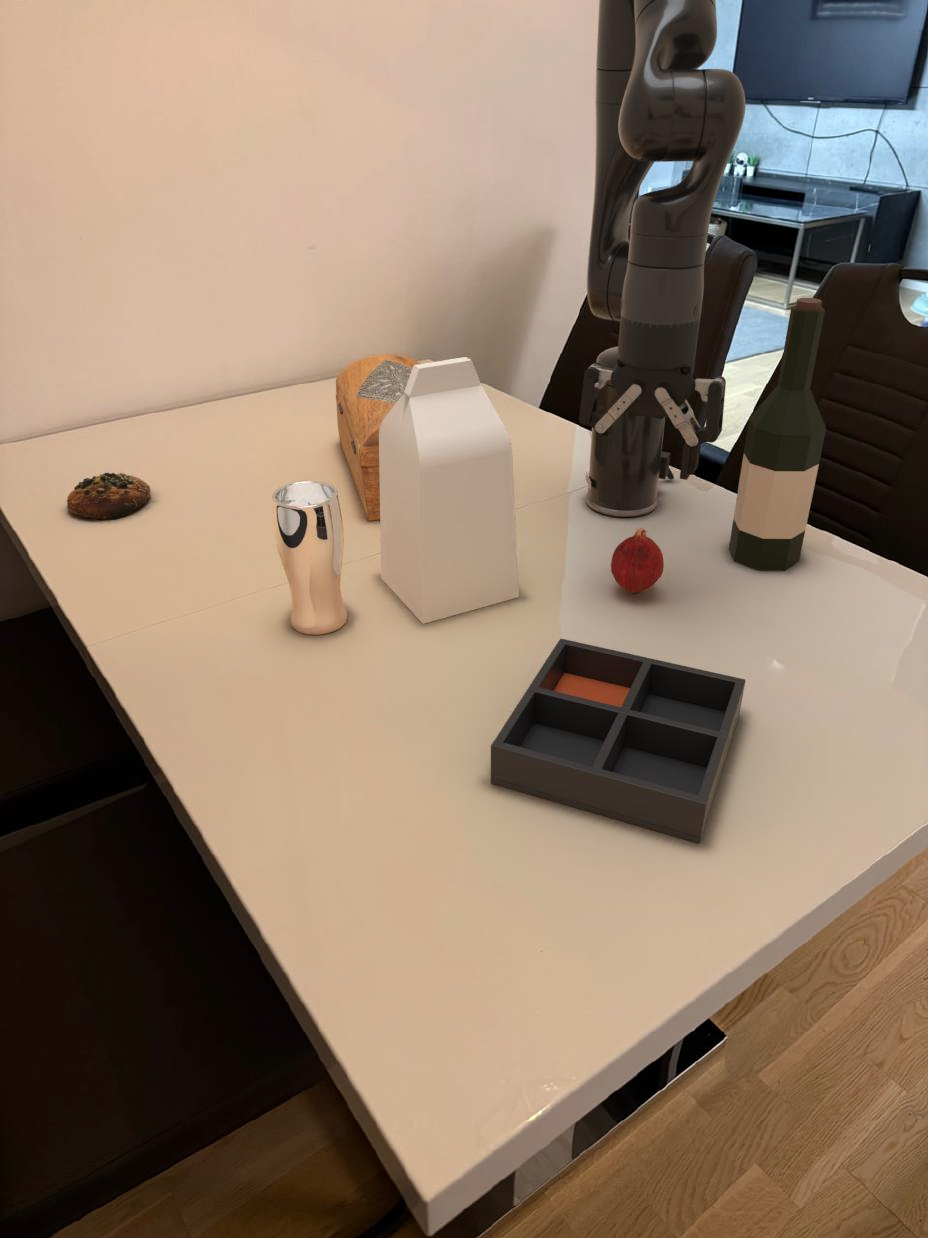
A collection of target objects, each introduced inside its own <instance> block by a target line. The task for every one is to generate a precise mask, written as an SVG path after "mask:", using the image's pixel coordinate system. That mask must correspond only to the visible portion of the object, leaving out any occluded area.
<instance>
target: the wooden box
mask: <svg viewBox="0 0 928 1238" xmlns="http://www.w3.org/2000/svg"><path fill="white" fill-rule="evenodd" d="M419 364H422V363H421V362H419V361H417V360H416V359H414V358H412V357H409V356H406V355H402V354H377V355H372V356H371V355H370V356H366V357H363V358H361V359H358V360H356V361H354V362H352V363H349V365H347V366H346V367H345V368H344V369H343V370H342V371H341V372H340V373H339V374H338V376H337V377H336V379H335V404H336V421H337V429H338V430H337V432H338V439H339V443H340V446H341V448H342V449H341V450H342V452H343V454H344V457H345V460H346V462H347V465H348V468H349V471H350V473H351V474H350V475H351V477H352V479H353V480H352V481H353V483H354V486H355V488H356V492H357V494H358V498H359V500H360V503H361V506H362V509H363V512H364V515H365V518H366V519H367V521H378V520H379V521H380V474H379V430H380V426H381V423H382V421H383V420H384V418H385V417H386V415H387V414H388V413H389V412H390V410H391V409H392V408H393V406H394V405H395V404H396V403H397V401H398V400H399V399H400V398H401V396H402V395H403V394H405V393H404V391H405V388H406V385H407V383H408V380H409V377H410V374H411V372H412V369H413V366H414V365H419Z"/></svg>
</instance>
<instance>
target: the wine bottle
mask: <svg viewBox="0 0 928 1238" xmlns="http://www.w3.org/2000/svg"><path fill="white" fill-rule="evenodd" d="M822 304H823V300H821V299H820V298H815V297H800V298H797V299H796V302H795V305H793V306H791V307H790V311H789V318H788V323H787V329H786V335H785V341H784V347H783V352H782V358H781V359H782V360H781V364H780V371H779V376H778V381H777V385H776V386H775V387H774V389H773V390H772V391H771V392H770V393H769V394H768V396H767V397H766V398H765V399H764V401H763V402H762V403H761V404H760V405H759V406H758V407H757V409H756V410H755V411H754V412H753V413H752V414H751V416H749V419H748V424H747V431H746V437H745V442H744V443H745V444H744V450H743V457H742V462H741V467H740V474H739V480H738V487H737V493H736V494H737V496H736V501H735V506H734V513H733V519H732V526H731V531H730V537H729V544H728V550H729V553H730V555H731V557H732V559H733V562H735V563H738V564H741V565H743V566H746V567H748V568H751V569H752V570H756V571H781V572H782V571H786V570H788V569H789V568H791V567H793V566H795V565H796V564H798V563H799V562H800V559H801V555H802V548H803V544H804V539H805V534H806V529H807V524H808V519H809V514H810V509H811V505H812V501H813V495H814V491H815V485H816V481H817V476H818V471H819V466H820V461H821V457H822V451H823V446H824V442H825V437H826V432H827V426H826V423H825V422H824V419H823V417H822V414H821V412H820V409H819V407H818V405H817V402H816V400H815V397H814V395H813V392H812V390H811V385H812V381H813V375H814V371H815V365H816V360H817V354H818V351H819V350H818V349H819V344H820V339H821V334H822V330H823V329H822V328H823V323H824V319H825V318H824V317H825V312H826V309H824V308H823V306H822Z"/></svg>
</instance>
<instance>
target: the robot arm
mask: <svg viewBox="0 0 928 1238" xmlns="http://www.w3.org/2000/svg"><path fill="white" fill-rule="evenodd" d="M597 19H598V20H597V38H596V62H595V67H596V68H595V101H594V102H595V164H594V165H595V168H594V190H593V205H592V215H591V227H590V235H589V246H588V247H589V248H588V256H587V270H586V296H587V303H588V308H589V309H590V311H591V313H592V314H593V316H595V317H596V318H597V319H600V320H604V321H611V322H617V323H618V322H619V330H618V331H619V333H618V344H617V345H618V346H614V347H610V348H608V349H605V350H604V351H602V352H601V353H599V355H598V356H597V357H596V361H595V362H594V363H592V364H591V365H590V366H589V367H588V368H586V369H585V371H584V373H583V381H582V388H581V389H582V390H581V398H580V405H579V414H578V421H579V423H580V425H582V426H589V427H590V428H591V436H590V437H591V440H590V452H589V453H590V454H589V469H588V472H587V471H585V481H586V484H587V492H586V504H587V506H588V507H589V508H590V509H592V510H594V511H595V512H598V513H600V514H603V515H607V516H611V517H620V518H629V517H630V518H631V517H632V518H633V517H639V516H643V515H646V514H649V513H651V512H652V511H654V510H655V509H656V507H657V505H658V488H659V487H658V485H659V479H660V480H666V478H667V479H668V480H671V481H672V480H674V478H675V474H673V472H672V470H671V468H670V461H671V452H667V451H662V450H663V442H664V432H665V423H666V418H669V420H670V421H671V423H672V425H673V427H674V428H675V429H677V430H678V431H679V433H680V435H681V436H682V438H683V439H684V441H685V443H684V445H683V449H682V456H681V465H680V473H679V480H684V481H687V480H689V477H690V476H693V475H694V473H695V472H696V470H697V469H698V467H699V463H700V462H699V461H700V454H701V447H702V444H704V443H705V444H706V443H710V444H711V443H712V444H713V443H715V442H716V441H717V440H718V439H719V437H720V435H721V433H722V431H723V422H724V421H723V420H724V410H725V398H726V384H727V381H726V378H725V377H724V376H722V375H718V376H716V377H714V379H711V378H698V377H697V375H696V372H695V364H696V355H697V347H698V341H699V340H698V339H699V330H700V324H701V315H702V308H703V307H702V306H703V299H704V289H705V261H706V253H707V245H708V244H707V243H708V236H709V228H710V221H711V216H712V213H713V212H712V211H713V207H714V205H715V202H716V199H717V198H716V197H717V195H718V191H719V189H720V185H721V182H722V180H723V177H724V173H725V171H726V168H727V167H728V164H729V161H730V158H731V156H732V154H733V152H734V149H735V146H736V145H737V141H738V139H739V136H740V133H741V130H742V127H743V125H744V119H745V116H746V115H745V114H746V108H747V107H746V105H747V103H746V93H745V90H744V88H743V85H742V82H741V80H740V79H739V77H738V76H737V75H736V74H735V73H734V72H733V71H731V70H728V69H724V68H701V69H699V68H700V67H702V66H703V65H704V64H705V63H707V61H708V60H709V59H710V57H711V56H712V54H713V52H714V50H715V47H716V43H717V38H718V20H717V4H716V0H598V18H597ZM661 162H662V163H664V162H665V163H666V162H667V163H668V162H670V163H671V162H692V164H691V167H690V168H689V171H688V172H687V173H686V175H685V176H684V178H682V180H681V181H680V182H679V183H677V184H674V185H672V186H669V187H665V188H662V189H657V190H652V191H649V192H645V193H643V194H641V195H639V197H637V198H636V196H637V193H638V192H639V189H640V188H641V185H642V183H643V181H644V180H645V178H646V177H647V175H648V173H649V171H650V170H651V168H652V167H653V165H654V163H661ZM629 225H630V226H629ZM629 227H630V233H629ZM695 391H697V392H698V393H699V394H700V399H701V401H702V402H704V403H706V416H705V426H702V427H701V425H700V423H699V422H698V420H697V418H696V416H695V413H694V411H693V409H692V407H691V405H690V403H689V402H688V400H687V399H688V398H689V397H690V396H692V394H693V393H694V392H695Z"/></svg>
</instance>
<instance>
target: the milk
mask: <svg viewBox="0 0 928 1238" xmlns="http://www.w3.org/2000/svg"><path fill="white" fill-rule="evenodd" d="M404 393H405V394H403V395H402V396H401V398H400V399H399V400H398V401H397V403H396V404H395V405H394V406H393V408H392V409H391V410H390V412H389V413H388V414H387V415H386V417H385V418H384V420H383V421H382V423H381V426H380V430H379V474H380V520H379V525H380V527H379V530H380V536H379V537H380V579H381V580H382V581H383V582H384V583H385V585H386V586H387V587H388V588H389V589H390V590H391V591H392V593H394V594H395V595H396V597H397V598H398V599H399V600H400V601H401V602H402V603H403V604H404V606H406V608H408V610H409V611H410V612H411V613H412V614H413V615H414V616H415V617H416V619H417V620H419V622H420V623H421V624H422V625H424V624H428V623H432V622H435V621H440V620H442V619H446V618H449V617H453V616H457V615H461V614H464V613H467V612H472V611H475V610H478V609H482V608H485V607H489V606H492V605H496V604H500V603H503V602H506V601H510V600H514V599H517V598H519V597H520V591H519V590H520V589H519V569H518V568H519V567H518V551H517V550H518V547H517V546H518V545H517V528H516V527H517V525H516V505H515V504H516V503H515V483H514V461H513V447H512V441H511V437H510V435H509V432H508V430H507V428H506V426H505V424H504V422H503V420H502V419H501V417H500V415H499V413H498V412H497V410H496V408H495V406H494V405H493V403H492V401H491V399H490V398H489V396H488V394H487V392H486V391H485V389H484V387H483V386H482V385H481V381H480V378H479V376H478V373H477V370H476V367H475V365H474V362H473V360H472V359H470V358H469V357H466V356H463V357H456V358H451V359H445V360H439V361H432V362H426V363H421V364H419V365H414V366H413V369H412V372H411V374H410V377H409V380H408V383H407V385H406V388H405V391H404Z"/></svg>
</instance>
